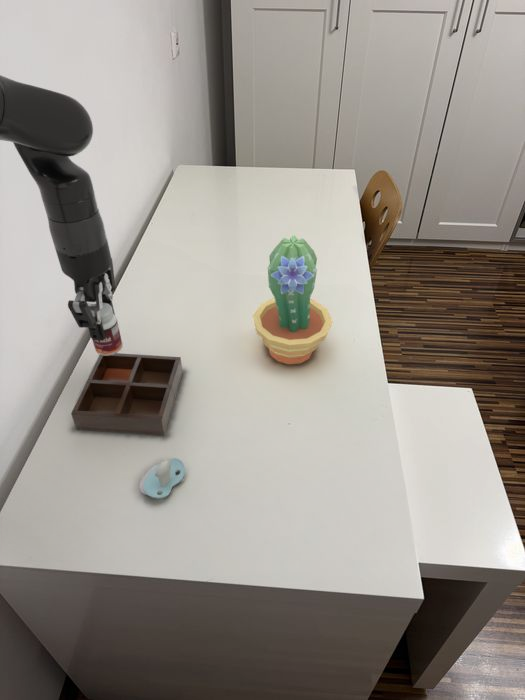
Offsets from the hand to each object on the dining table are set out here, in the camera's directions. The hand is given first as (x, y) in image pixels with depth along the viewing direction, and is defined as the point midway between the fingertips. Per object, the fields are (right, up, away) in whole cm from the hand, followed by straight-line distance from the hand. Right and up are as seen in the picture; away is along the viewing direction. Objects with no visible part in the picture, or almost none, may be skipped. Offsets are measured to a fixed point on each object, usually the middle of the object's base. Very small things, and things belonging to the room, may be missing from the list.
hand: (103, 328), depth 85 cm
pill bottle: (0, -3, +3) cm, 5 cm away
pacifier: (+11, -25, -7) cm, 28 cm away
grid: (+3, -13, +6) cm, 14 cm away
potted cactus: (+33, -4, +17) cm, 37 cm away
